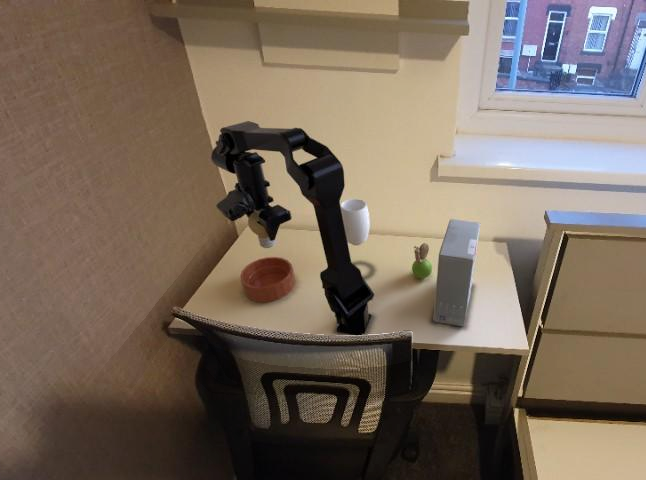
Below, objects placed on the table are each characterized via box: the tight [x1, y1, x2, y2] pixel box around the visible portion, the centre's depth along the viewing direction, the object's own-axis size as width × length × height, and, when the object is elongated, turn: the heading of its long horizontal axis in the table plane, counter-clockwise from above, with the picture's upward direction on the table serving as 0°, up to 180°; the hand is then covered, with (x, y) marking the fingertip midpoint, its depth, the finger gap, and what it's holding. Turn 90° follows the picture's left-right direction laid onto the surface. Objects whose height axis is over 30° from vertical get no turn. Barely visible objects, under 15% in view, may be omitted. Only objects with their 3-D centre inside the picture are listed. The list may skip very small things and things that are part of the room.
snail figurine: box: [411, 242, 433, 279], centre depth 104 cm, size 5×6×12 cm
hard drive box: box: [433, 218, 481, 327], centre depth 94 cm, size 16×8×20 cm, turn 168°
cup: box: [340, 198, 371, 246], centre depth 102 cm, size 7×7×21 cm
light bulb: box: [247, 211, 277, 249], centre depth 98 cm, size 6×6×10 cm
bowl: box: [239, 256, 296, 303], centre depth 100 cm, size 12×12×5 cm
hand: (265, 235), depth 99 cm, fingers closed on light bulb, 6 cm apart
